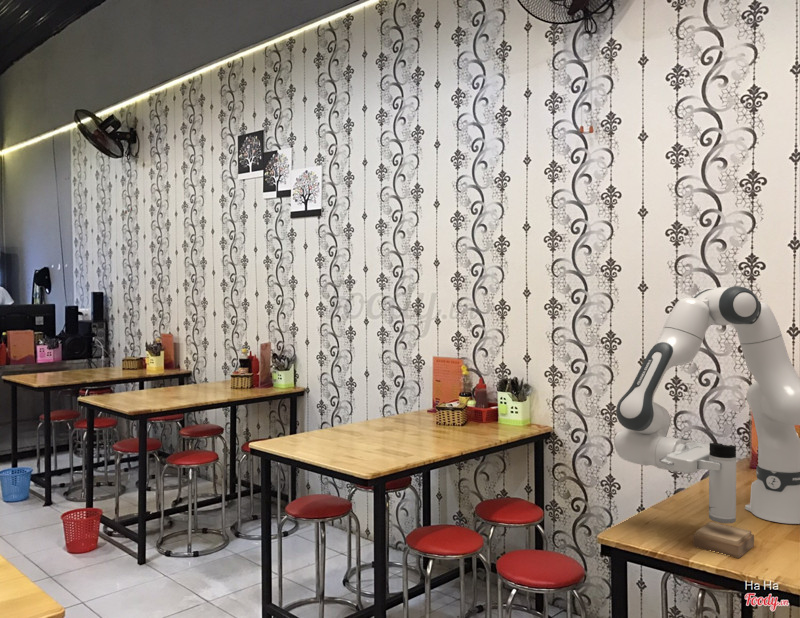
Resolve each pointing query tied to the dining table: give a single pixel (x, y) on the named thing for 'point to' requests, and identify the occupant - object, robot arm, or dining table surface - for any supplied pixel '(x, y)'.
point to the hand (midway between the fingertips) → (726, 464)
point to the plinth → (724, 539)
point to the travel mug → (722, 484)
